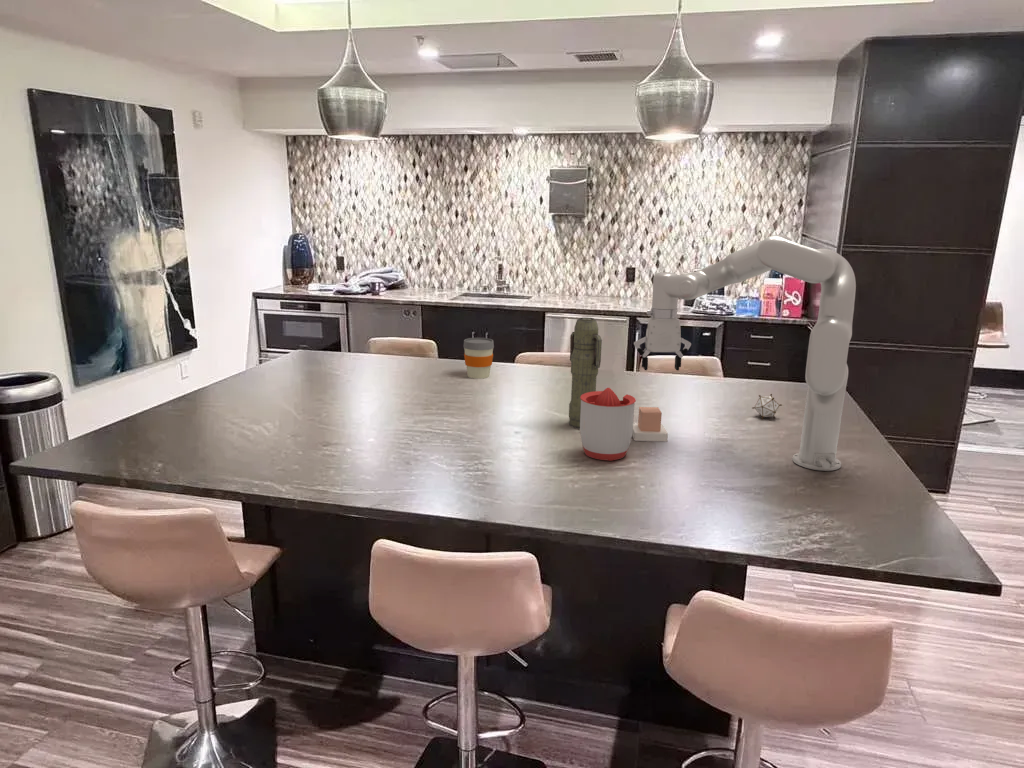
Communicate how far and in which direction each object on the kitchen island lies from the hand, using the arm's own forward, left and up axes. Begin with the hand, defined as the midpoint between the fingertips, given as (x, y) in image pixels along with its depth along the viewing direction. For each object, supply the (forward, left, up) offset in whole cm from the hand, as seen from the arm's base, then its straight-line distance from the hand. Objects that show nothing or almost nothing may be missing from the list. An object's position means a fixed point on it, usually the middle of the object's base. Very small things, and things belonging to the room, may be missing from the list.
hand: (661, 369), depth 218 cm
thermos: (+9, +23, -21) cm, 32 cm away
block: (-1, +3, -21) cm, 21 cm away
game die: (+22, -41, -21) cm, 51 cm away
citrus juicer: (-18, +18, -21) cm, 33 cm away
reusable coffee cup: (+72, +61, -21) cm, 96 cm away
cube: (-1, +3, -19) cm, 19 cm away
